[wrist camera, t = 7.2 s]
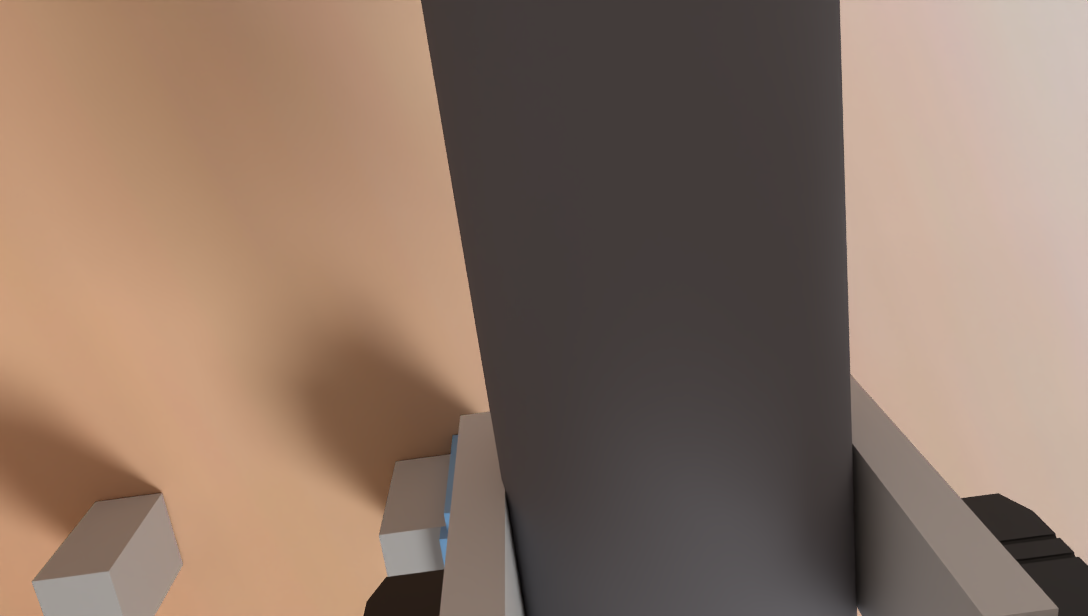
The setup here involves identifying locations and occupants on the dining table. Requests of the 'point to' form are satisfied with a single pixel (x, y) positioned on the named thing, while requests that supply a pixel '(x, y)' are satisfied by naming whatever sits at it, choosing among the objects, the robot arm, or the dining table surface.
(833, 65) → the dark gray cylinder
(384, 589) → the robot arm
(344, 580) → the dining table surface
